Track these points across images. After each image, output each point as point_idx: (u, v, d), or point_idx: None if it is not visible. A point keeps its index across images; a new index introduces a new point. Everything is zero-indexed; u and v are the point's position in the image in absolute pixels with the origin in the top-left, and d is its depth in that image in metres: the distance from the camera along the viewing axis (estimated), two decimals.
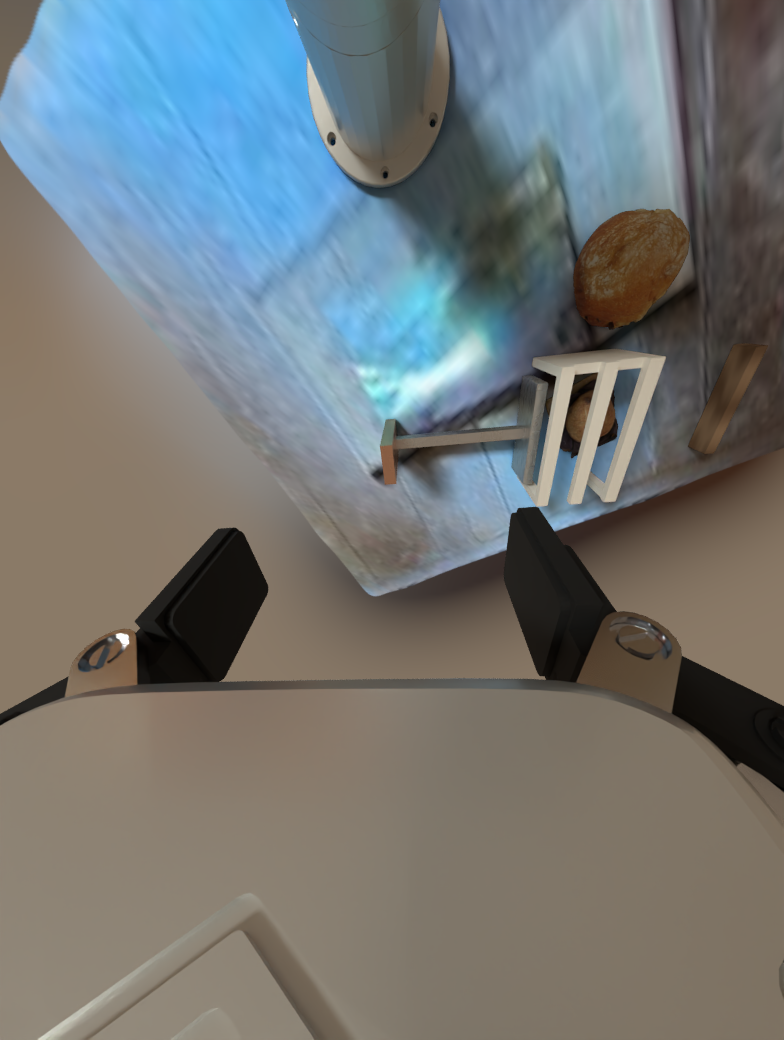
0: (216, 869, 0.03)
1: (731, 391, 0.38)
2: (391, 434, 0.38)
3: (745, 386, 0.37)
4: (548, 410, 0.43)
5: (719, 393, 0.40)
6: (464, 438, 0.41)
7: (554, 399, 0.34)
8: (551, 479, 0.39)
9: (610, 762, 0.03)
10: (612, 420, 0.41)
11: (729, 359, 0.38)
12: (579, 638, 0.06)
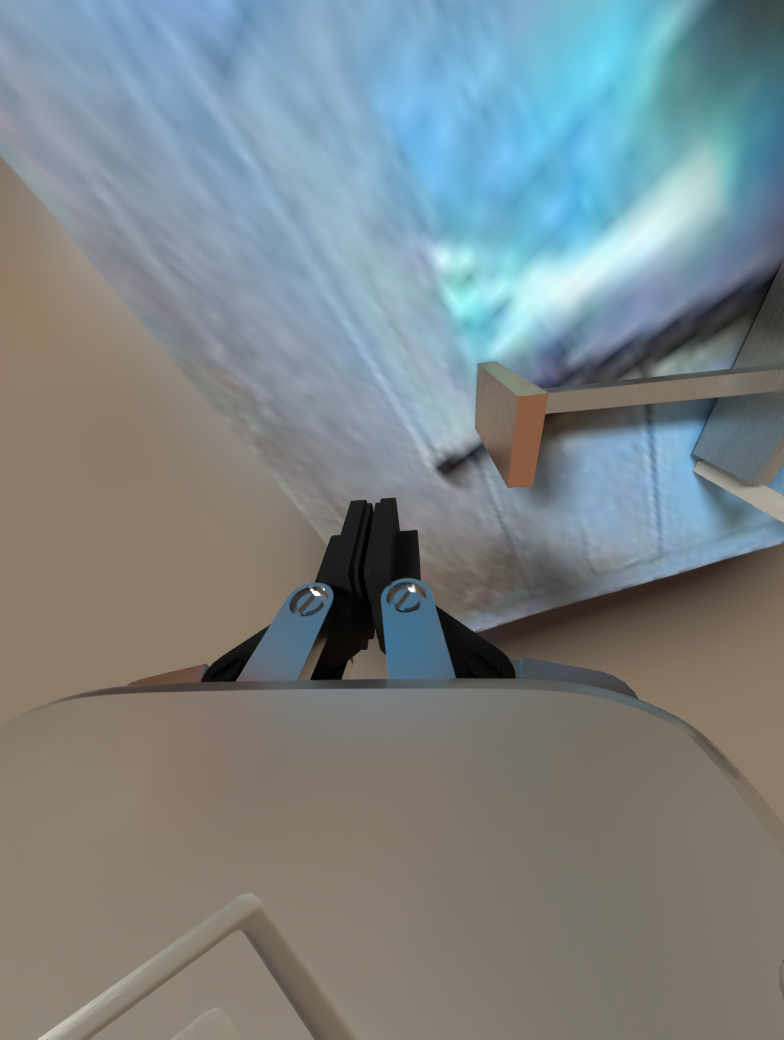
0: (216, 869, 0.03)
1: None
2: (519, 378, 0.18)
3: None
4: None
5: None
6: (647, 393, 0.21)
7: None
8: None
9: (610, 762, 0.03)
10: None
11: None
12: (378, 601, 0.08)
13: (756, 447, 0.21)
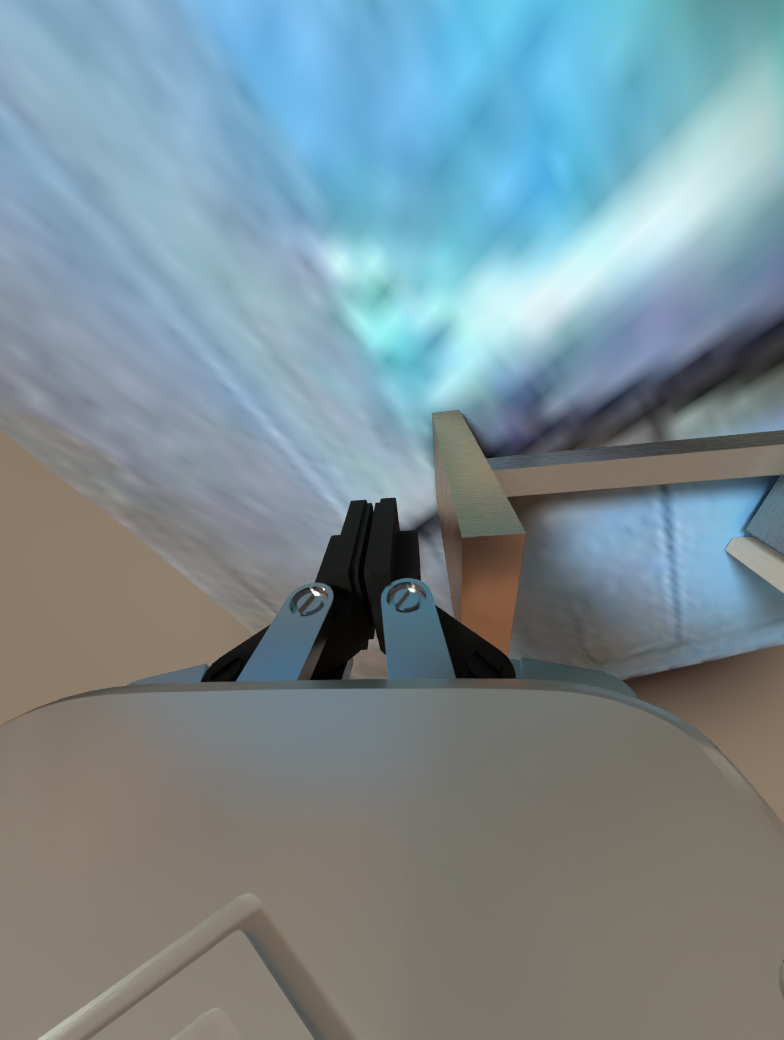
0: (216, 869, 0.03)
1: None
2: (480, 464, 0.10)
3: None
4: None
5: None
6: (694, 467, 0.13)
7: None
8: None
9: (610, 762, 0.03)
10: None
11: None
12: (378, 601, 0.08)
13: None
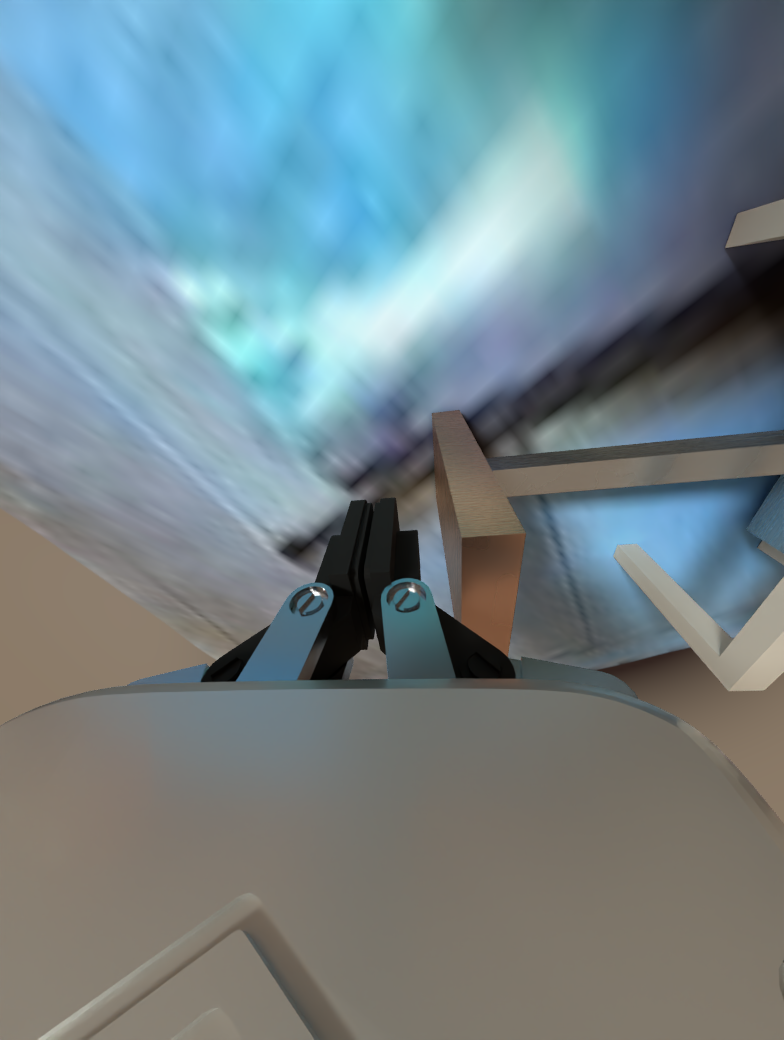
0: (216, 869, 0.03)
1: None
2: (480, 464, 0.10)
3: None
4: None
5: None
6: (694, 466, 0.13)
7: None
8: None
9: (610, 762, 0.03)
10: None
11: None
12: (378, 601, 0.08)
13: None
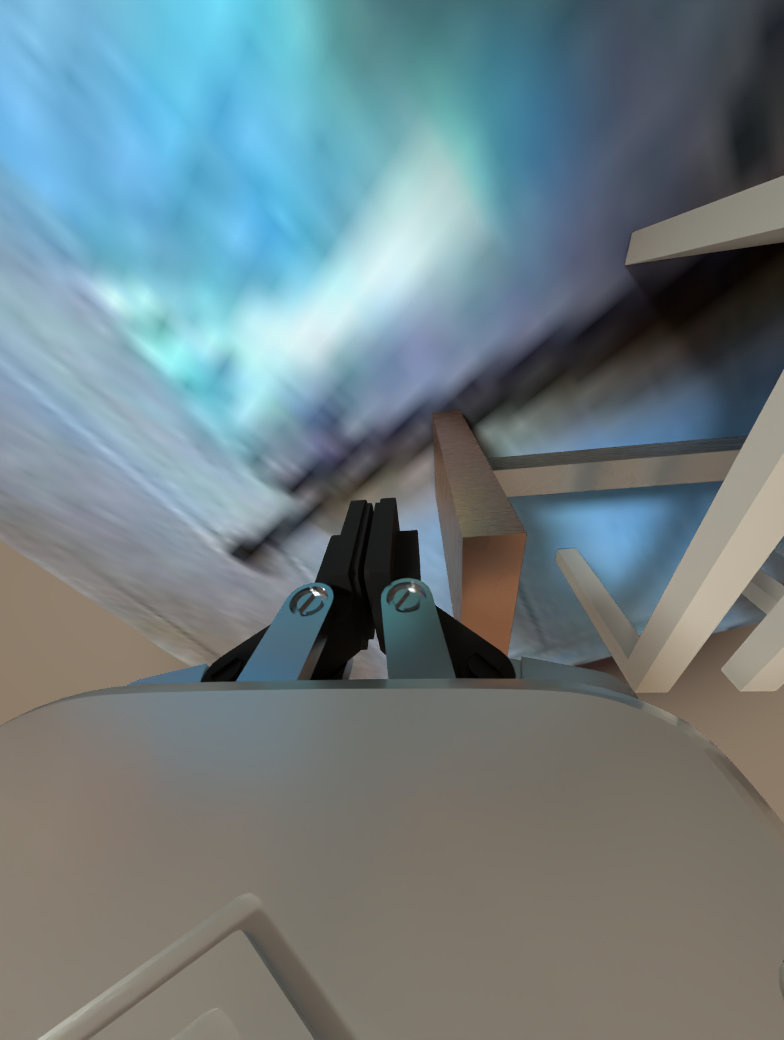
0: (216, 869, 0.03)
1: None
2: (481, 464, 0.10)
3: None
4: None
5: None
6: (693, 468, 0.13)
7: None
8: (702, 638, 0.11)
9: (610, 762, 0.03)
10: None
11: None
12: (378, 601, 0.08)
13: None
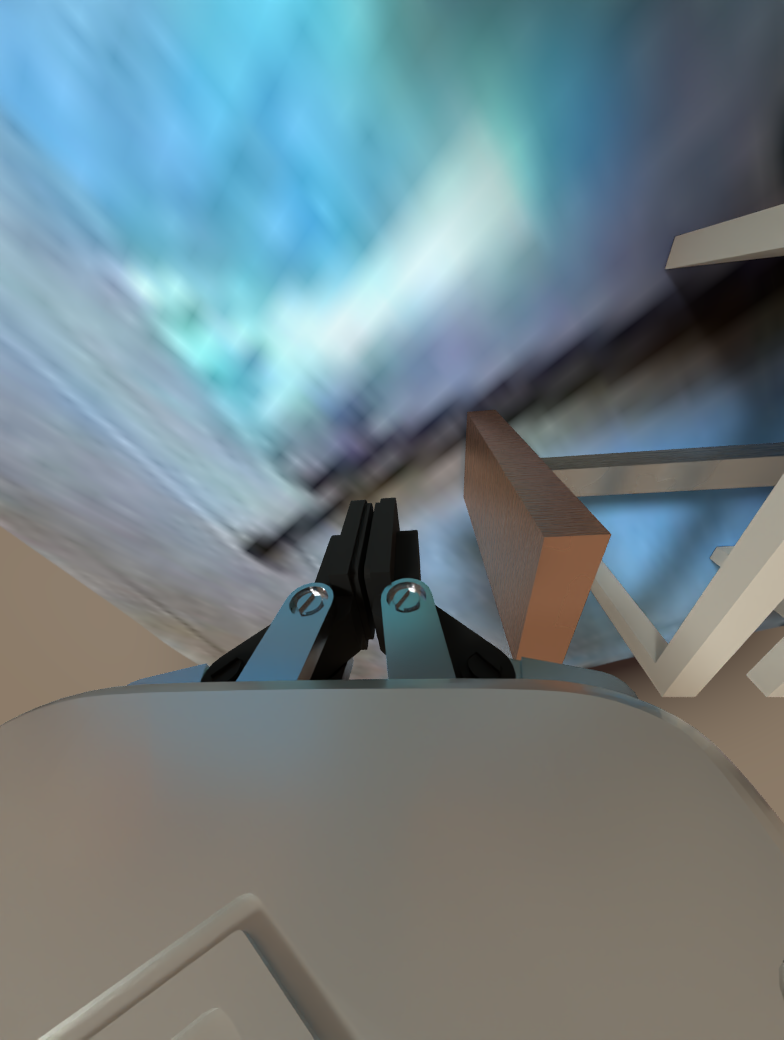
0: (216, 869, 0.03)
1: None
2: (537, 464, 0.10)
3: None
4: None
5: None
6: (734, 473, 0.13)
7: None
8: (738, 643, 0.11)
9: (610, 762, 0.03)
10: None
11: None
12: (378, 601, 0.08)
13: None
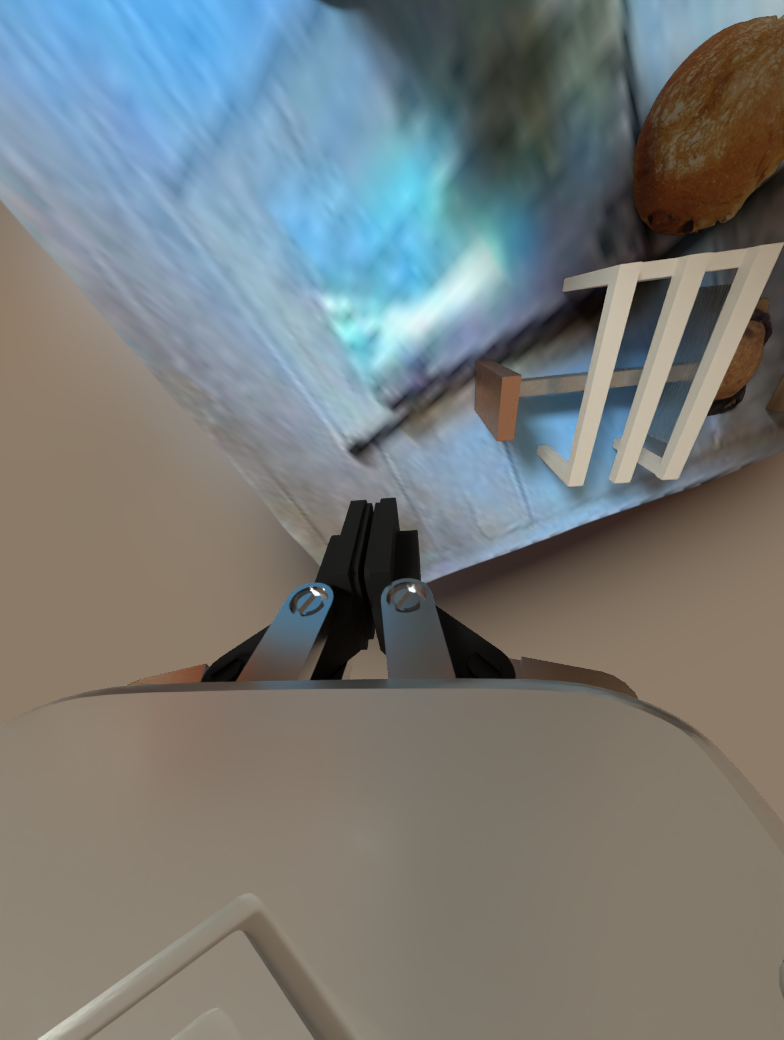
0: (216, 869, 0.03)
1: None
2: (504, 368, 0.26)
3: None
4: None
5: None
6: None
7: (603, 321, 0.23)
8: (591, 447, 0.28)
9: (610, 762, 0.03)
10: (752, 375, 0.30)
11: None
12: (378, 601, 0.08)
13: (675, 420, 0.30)
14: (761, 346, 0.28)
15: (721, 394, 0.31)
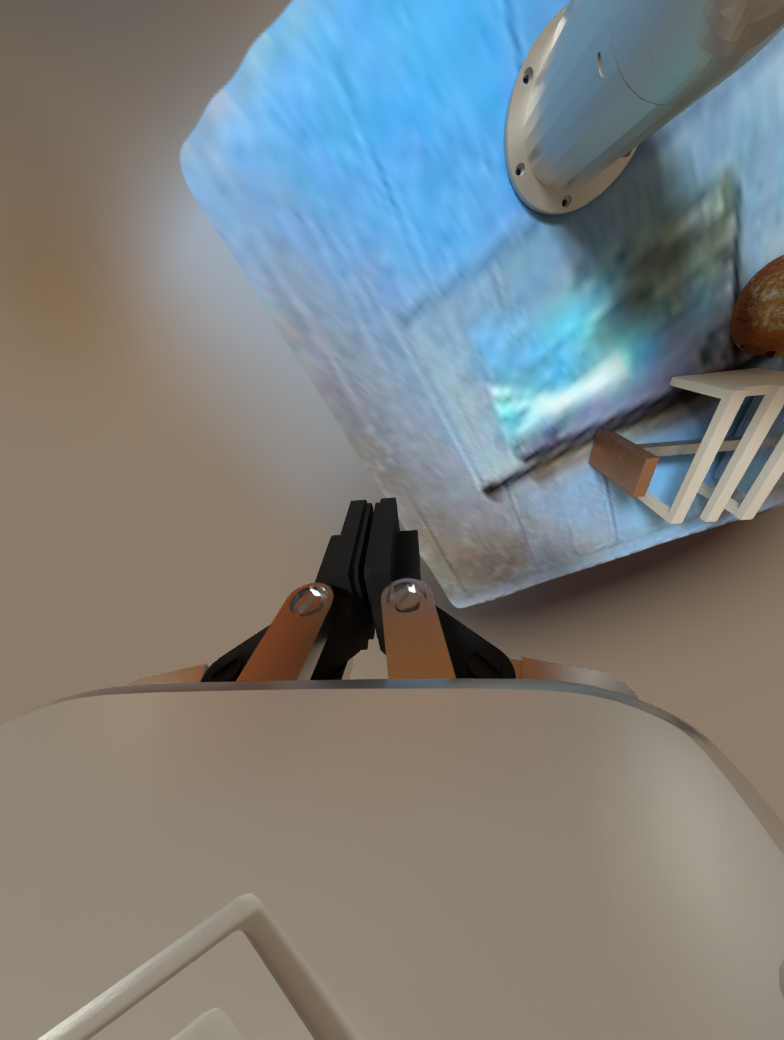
0: (216, 869, 0.03)
1: None
2: (636, 445, 0.37)
3: None
4: None
5: None
6: (692, 448, 0.40)
7: (715, 421, 0.34)
8: (692, 498, 0.39)
9: (610, 762, 0.03)
10: None
11: None
12: (378, 601, 0.08)
13: (748, 475, 0.41)
14: None
15: None
